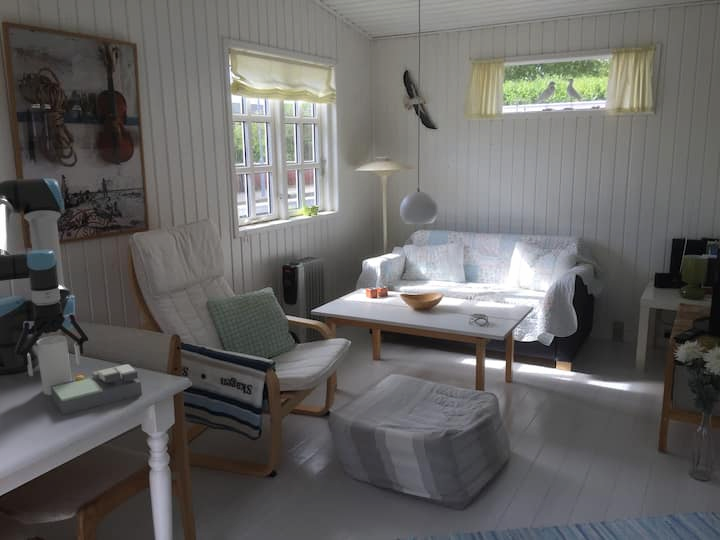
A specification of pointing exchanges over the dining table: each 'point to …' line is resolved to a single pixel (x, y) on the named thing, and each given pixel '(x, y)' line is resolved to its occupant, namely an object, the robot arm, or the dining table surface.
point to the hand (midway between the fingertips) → (55, 369)
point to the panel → (95, 390)
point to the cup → (53, 361)
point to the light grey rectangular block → (109, 375)
